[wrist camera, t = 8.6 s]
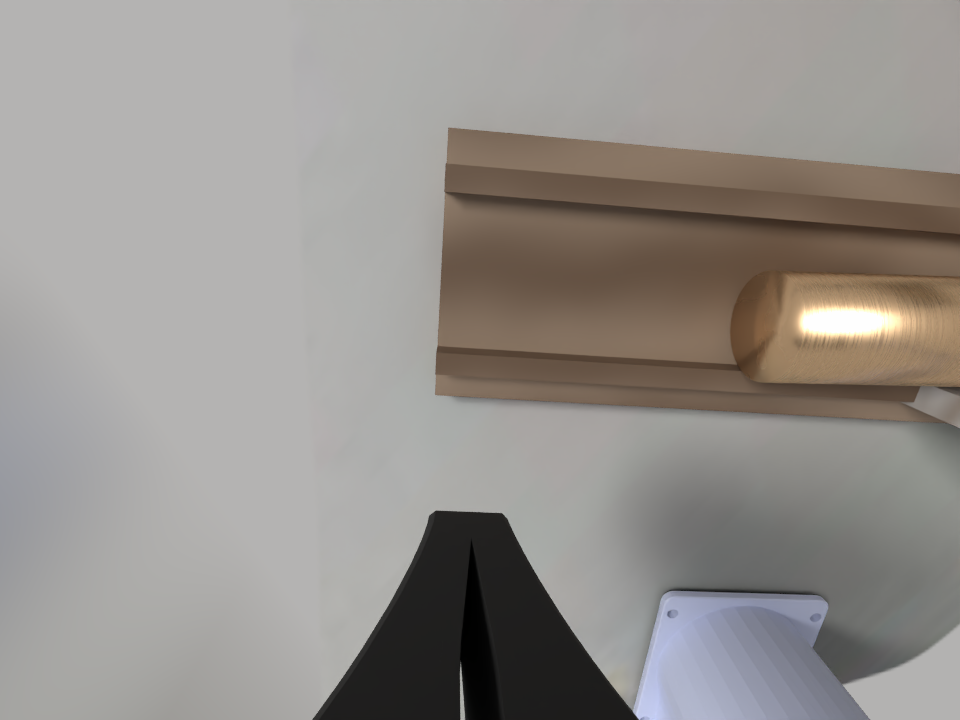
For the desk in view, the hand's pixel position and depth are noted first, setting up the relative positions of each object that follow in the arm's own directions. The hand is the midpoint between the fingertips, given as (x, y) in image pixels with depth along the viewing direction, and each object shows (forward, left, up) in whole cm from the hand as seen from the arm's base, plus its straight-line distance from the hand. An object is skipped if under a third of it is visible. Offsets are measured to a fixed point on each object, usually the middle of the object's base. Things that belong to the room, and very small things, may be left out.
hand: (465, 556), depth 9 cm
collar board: (+4, -12, -10) cm, 16 cm away
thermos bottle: (+4, -18, -9) cm, 20 cm away
